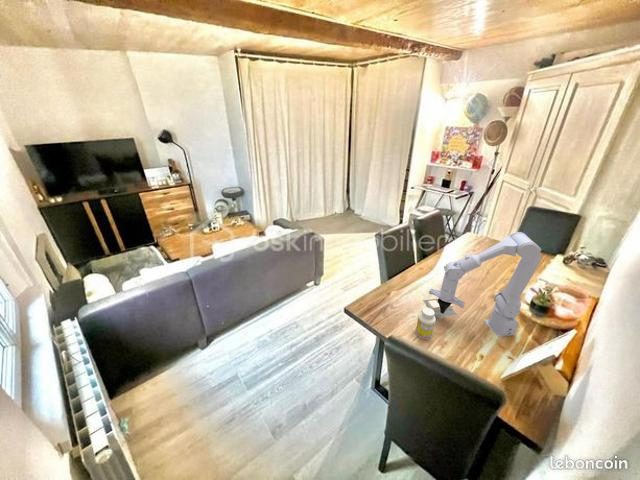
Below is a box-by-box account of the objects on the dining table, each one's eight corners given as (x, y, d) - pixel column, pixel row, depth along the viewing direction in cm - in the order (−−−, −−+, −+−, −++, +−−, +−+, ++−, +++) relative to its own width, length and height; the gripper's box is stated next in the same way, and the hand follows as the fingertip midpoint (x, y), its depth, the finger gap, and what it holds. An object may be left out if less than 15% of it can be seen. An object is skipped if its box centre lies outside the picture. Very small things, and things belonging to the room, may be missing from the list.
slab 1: (441, 306, 117) (435, 299, 121) (433, 307, 116) (427, 300, 121) (440, 310, 118) (434, 303, 122) (432, 311, 117) (426, 304, 122)
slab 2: (452, 305, 117) (446, 298, 122) (445, 306, 117) (439, 299, 121) (451, 309, 118) (445, 302, 123) (444, 310, 118) (438, 303, 122)
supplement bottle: (418, 325, 110) (423, 303, 105) (433, 332, 106) (439, 310, 101) (413, 335, 106) (417, 312, 100) (428, 342, 102) (434, 319, 96)
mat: (457, 315, 115) (457, 314, 115) (435, 317, 114) (435, 317, 114) (442, 298, 126) (443, 298, 126) (422, 300, 125) (422, 300, 125)
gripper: (470, 291, 104) (462, 315, 110) (435, 277, 113) (430, 300, 119) (464, 299, 100) (457, 323, 106) (429, 284, 109) (424, 308, 115)
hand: (442, 312), depth 112 cm, fingers closed
